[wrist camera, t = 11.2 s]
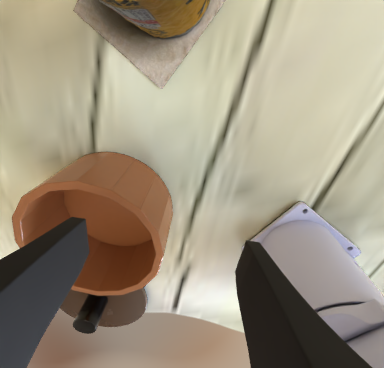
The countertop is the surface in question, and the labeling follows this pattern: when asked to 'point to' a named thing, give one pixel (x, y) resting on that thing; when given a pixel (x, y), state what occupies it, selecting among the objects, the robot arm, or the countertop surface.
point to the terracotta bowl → (104, 219)
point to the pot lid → (104, 309)
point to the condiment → (150, 30)
